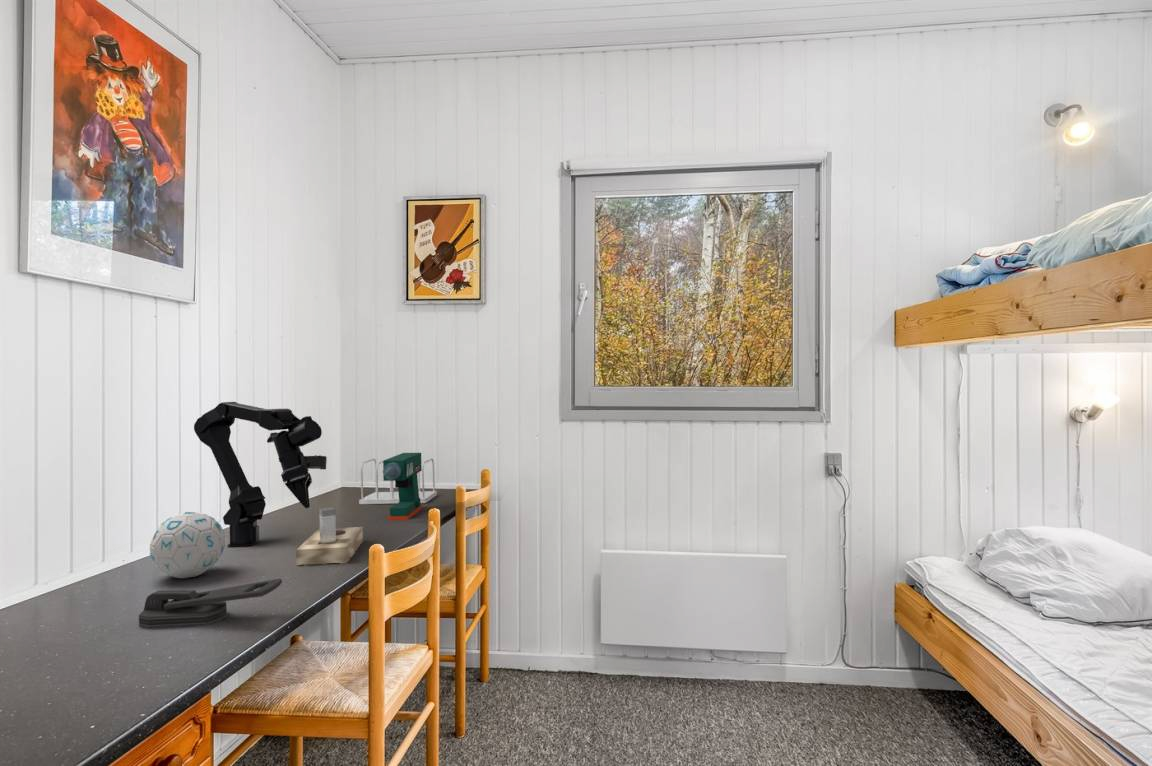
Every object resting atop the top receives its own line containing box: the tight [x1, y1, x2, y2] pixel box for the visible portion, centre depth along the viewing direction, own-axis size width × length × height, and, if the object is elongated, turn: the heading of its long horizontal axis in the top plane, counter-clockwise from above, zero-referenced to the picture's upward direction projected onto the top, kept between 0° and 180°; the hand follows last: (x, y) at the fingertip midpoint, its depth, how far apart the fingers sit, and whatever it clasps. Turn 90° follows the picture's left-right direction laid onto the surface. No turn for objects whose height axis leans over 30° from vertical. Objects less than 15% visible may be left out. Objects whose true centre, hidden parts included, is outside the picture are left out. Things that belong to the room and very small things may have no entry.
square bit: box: [318, 506, 337, 544], centre depth 161 cm, size 3×3×12 cm
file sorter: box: [358, 458, 438, 505], centre depth 239 cm, size 25×17×16 cm
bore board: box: [295, 526, 364, 565], centre depth 165 cm, size 12×22×4 cm, turn 9°
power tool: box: [382, 452, 423, 521], centre depth 206 cm, size 32×7×20 cm, turn 179°
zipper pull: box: [138, 578, 283, 629], centre depth 120 cm, size 9×7×25 cm
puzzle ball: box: [149, 511, 226, 579], centre depth 146 cm, size 15×15×15 cm
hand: (306, 506), depth 168 cm, fingers open, 9 cm apart
